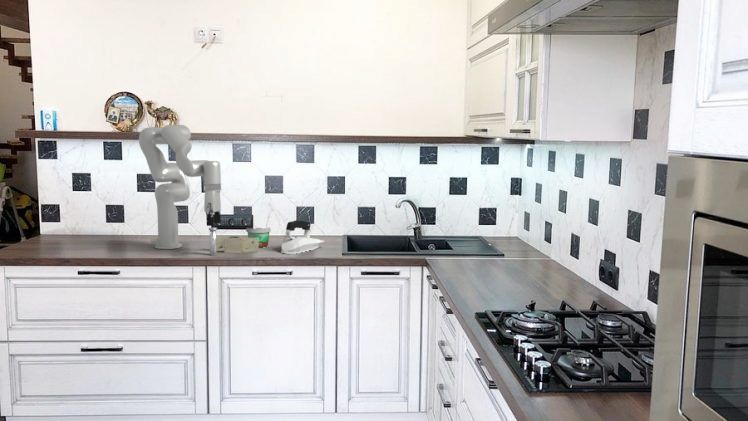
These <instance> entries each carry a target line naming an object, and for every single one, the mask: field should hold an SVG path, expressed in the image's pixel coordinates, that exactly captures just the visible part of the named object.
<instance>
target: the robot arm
mask: <svg viewBox="0 0 748 421" xmlns="http://www.w3.org/2000/svg"><path fill="white" fill-rule="evenodd" d="M191 138H192V134H191V130H190V128H189V127H187V126H186V125H181V124H168V125H165V126H162V127H161V126H160V127H159V126H150V127H144V128H143V129H142V130H141V131H140V133H139V135H138V144H139V147H140V150H141V151H142V153H143V155H144V157H145V159H146V163H147V165H148V169H149V172H150V174H151V177H152V179H153V181H154V182H157V183H162V184H159V185H158V186H156V187H155V189H154V198H155V202H156V209H157V211H156V213H157V238H150V243H151V244H153V243H154V247H155V248H156V249H159V250H172V249H173V250H174V249H179V248H182V245H183V244H182V243H180V242H179V213H178V208H177V207H176V205H175V203H178V202H179V203H180V202H184V201H187V200H188V199H189V198H190V195H191V190H190V186H189V184H188V181H187V178H186V177H188V178H194V177H195V178H197V177H203V186H204V187H203V188H204V199H203V200H204V206H203V208H204V212H205V215H206V216H205V218H206V226H207V227H213V226H214V225H215V224H220V223H221V222H222V220H221V217H222V216H221V211H222V207H221V206H222V203H221V202H222V201H221V191H222V178H221V177H222V176H221V163H220V162H219V161H217V160H208V159H207V160H205V159H202V160H199V159H197V160H196V159H195V160H191V159H189V158H188V156H187V155H188V154H189V153H190V152H191V151H192V148H193V146H192V143H191V142H190V140H191ZM157 145H168V146H169V147H170V149H171V150H172V151H173V152H174V153H175V162H168V161H166V158H165V155H164V153H163V151H162V150H161V149H160V148H159V147H158V146H157ZM169 182H170V183H169Z"/></svg>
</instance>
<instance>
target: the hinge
mask: <svg viewBox="0 0 748 421" xmlns="http://www.w3.org/2000/svg"><path fill="white" fill-rule="evenodd" d="M216 243H217V252H224V253H225V254H241V253H257V252H258V253H259V249H260V248H259V238H250V237H248V236H246V237H245V236H244V235H227V236H220V235H219V236H217V235H216Z"/></svg>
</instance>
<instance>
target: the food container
mask: <svg viewBox="0 0 748 421" xmlns="http://www.w3.org/2000/svg"><path fill="white" fill-rule="evenodd" d="M245 232H246V233H247V237H250V238H259V249H264V248H263V247H266V248H268V247H269V238H270V233H271V232H272V230H271V227H265V228H262V227H256V228H251V227H247V228H246V231H245ZM267 246H268V247H267Z"/></svg>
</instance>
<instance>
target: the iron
mask: <svg viewBox="0 0 748 421" xmlns="http://www.w3.org/2000/svg"><path fill="white" fill-rule="evenodd" d="M311 225H312V224H311V222H308V221H305V220H292V221H288V222H287V224H286V230H285V235H286V236H285V237H284V238H283V239H282V242H281V251H280V253H281V254H286V255H287V254H288V255H289V254H291V255H296V253H297V254H301V252H303V253H305V251H307V252H310V251H309V250H311V251H313V250H316V249H318V248H319V247H320V246H319V245H320V244H322V243H324V242H325V240H323V239H320V238H314V237H311V236H310V235H311V233H312V230H314V228H313V227H311ZM296 229H302V231H303V230H304V232H303V236H297V235H296V236H295V235H292V234H291V232H293V231H295V230H296Z"/></svg>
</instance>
